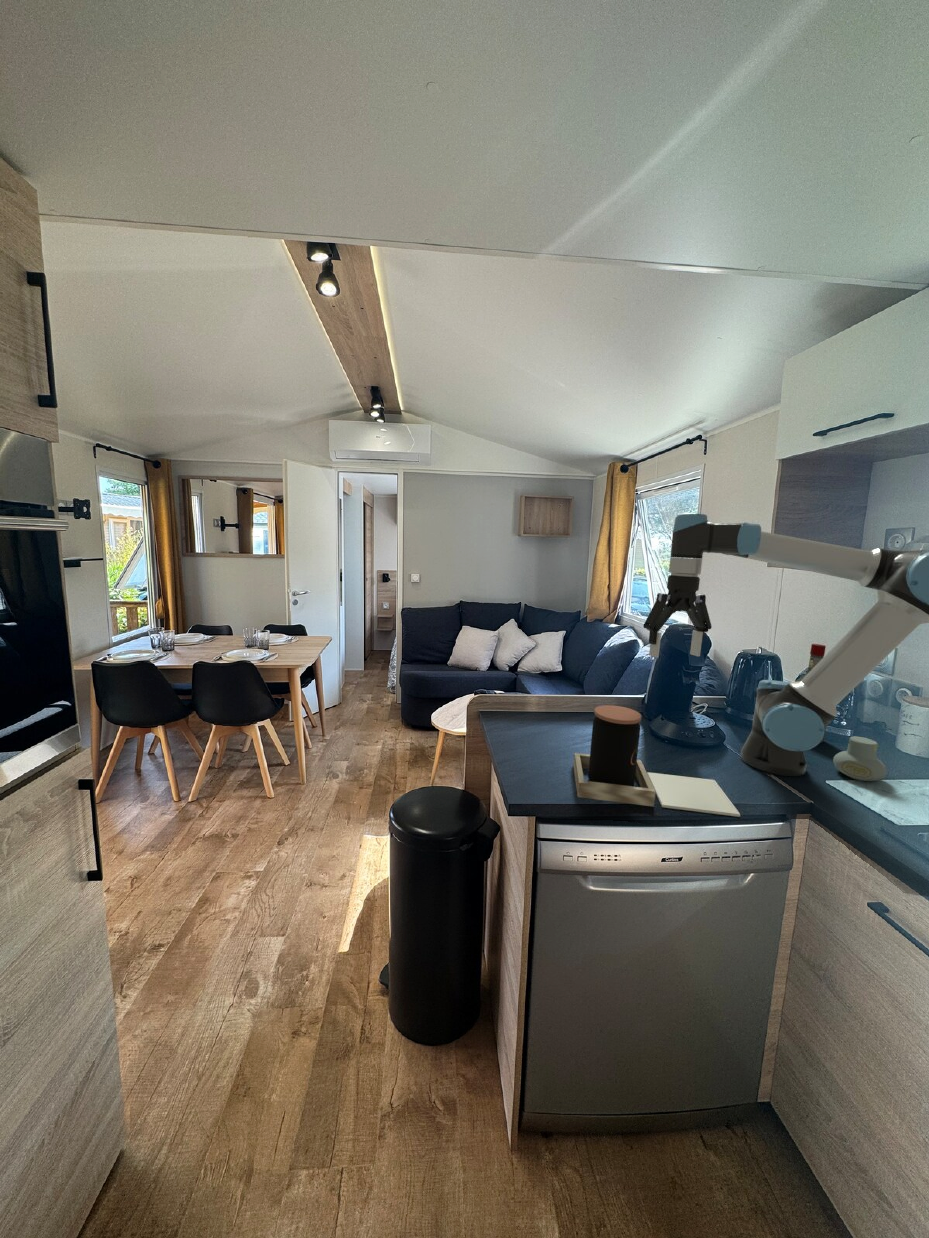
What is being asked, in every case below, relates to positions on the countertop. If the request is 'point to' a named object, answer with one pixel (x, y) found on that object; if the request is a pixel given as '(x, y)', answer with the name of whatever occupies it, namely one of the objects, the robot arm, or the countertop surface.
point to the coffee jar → (614, 745)
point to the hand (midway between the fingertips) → (674, 656)
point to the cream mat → (691, 794)
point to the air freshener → (860, 760)
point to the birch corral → (613, 785)
